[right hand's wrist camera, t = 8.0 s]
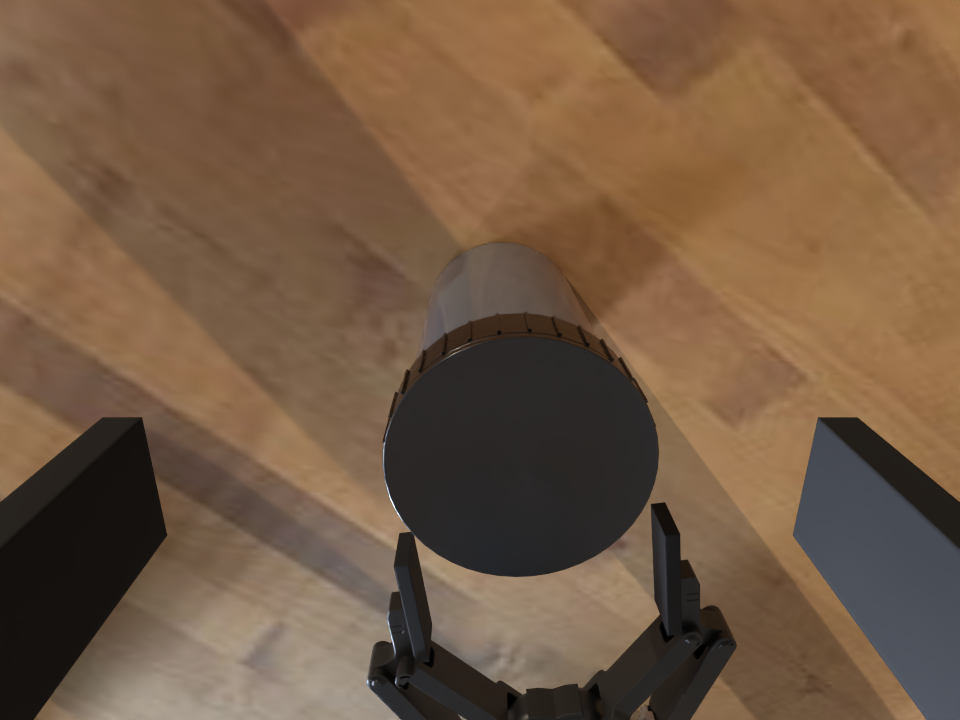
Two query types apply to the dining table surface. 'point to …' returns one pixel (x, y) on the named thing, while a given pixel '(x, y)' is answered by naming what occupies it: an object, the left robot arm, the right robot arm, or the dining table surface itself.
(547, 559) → the lid
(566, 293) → the jar
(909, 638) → the right robot arm
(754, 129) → the dining table surface
